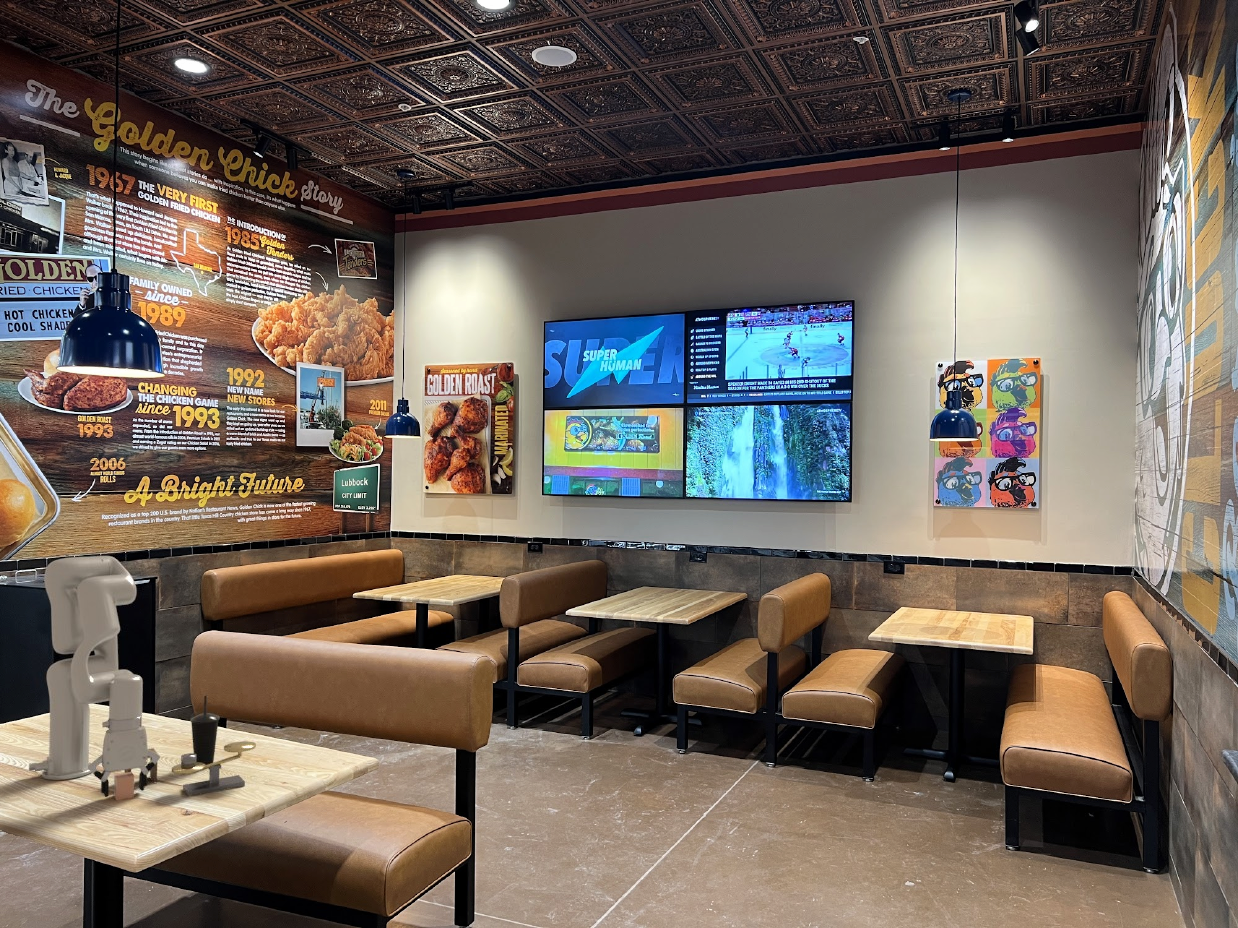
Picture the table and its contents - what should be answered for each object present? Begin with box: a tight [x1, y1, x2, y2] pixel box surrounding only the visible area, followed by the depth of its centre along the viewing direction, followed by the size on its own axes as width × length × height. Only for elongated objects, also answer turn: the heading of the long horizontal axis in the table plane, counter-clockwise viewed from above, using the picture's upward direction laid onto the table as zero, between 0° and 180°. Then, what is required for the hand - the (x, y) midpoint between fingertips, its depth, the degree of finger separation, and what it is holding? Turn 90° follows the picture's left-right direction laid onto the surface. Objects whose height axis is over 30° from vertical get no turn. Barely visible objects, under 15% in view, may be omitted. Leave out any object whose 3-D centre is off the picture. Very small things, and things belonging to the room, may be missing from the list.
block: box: [113, 771, 135, 801], centre depth 235 cm, size 4×4×6 cm
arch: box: [123, 747, 159, 783], centre depth 246 cm, size 7×6×8 cm
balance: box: [171, 740, 257, 797], centre depth 242 cm, size 21×8×10 cm, turn 127°
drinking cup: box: [190, 695, 220, 765], centre depth 260 cm, size 8×8×20 cm
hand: (124, 791), depth 235 cm, fingers open, 7 cm apart
